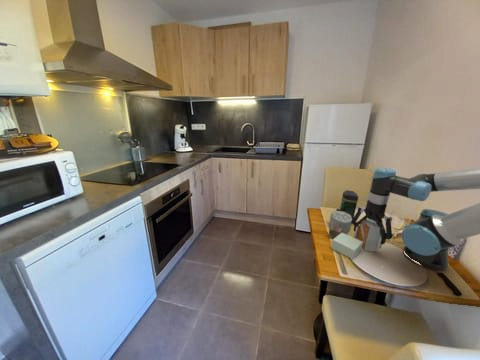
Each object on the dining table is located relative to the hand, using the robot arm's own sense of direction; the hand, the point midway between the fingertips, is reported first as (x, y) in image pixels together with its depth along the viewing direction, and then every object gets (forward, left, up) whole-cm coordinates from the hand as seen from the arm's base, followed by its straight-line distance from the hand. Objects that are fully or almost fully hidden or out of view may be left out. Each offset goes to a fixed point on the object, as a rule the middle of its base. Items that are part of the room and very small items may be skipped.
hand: (366, 243), depth 98 cm
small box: (0, 0, -2) cm, 2 cm away
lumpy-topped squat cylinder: (+17, -5, -2) cm, 18 cm away
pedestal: (+4, +11, -2) cm, 12 cm away
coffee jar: (+20, -17, -2) cm, 26 cm away
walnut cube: (+13, +6, -2) cm, 14 cm away
